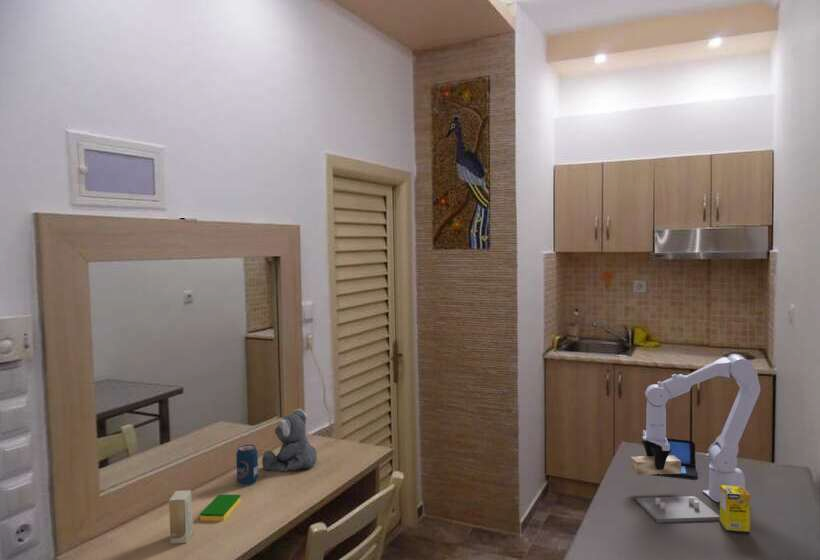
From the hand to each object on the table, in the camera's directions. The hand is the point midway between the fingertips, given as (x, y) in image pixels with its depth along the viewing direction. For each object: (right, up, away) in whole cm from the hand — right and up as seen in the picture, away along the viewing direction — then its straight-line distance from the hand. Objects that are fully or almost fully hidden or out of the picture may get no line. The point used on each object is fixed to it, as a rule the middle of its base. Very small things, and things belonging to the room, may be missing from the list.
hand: (655, 465), depth 187 cm
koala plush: (-120, -9, +28) cm, 123 cm away
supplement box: (+11, -10, -25) cm, 29 cm away
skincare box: (-140, -12, -26) cm, 143 cm away
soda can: (-132, -10, +12) cm, 133 cm away
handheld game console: (+13, -8, +18) cm, 23 cm away
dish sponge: (-135, -11, -9) cm, 135 cm away
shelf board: (0, -2, 0) cm, 2 cm away
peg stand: (+1, -9, -13) cm, 16 cm away
